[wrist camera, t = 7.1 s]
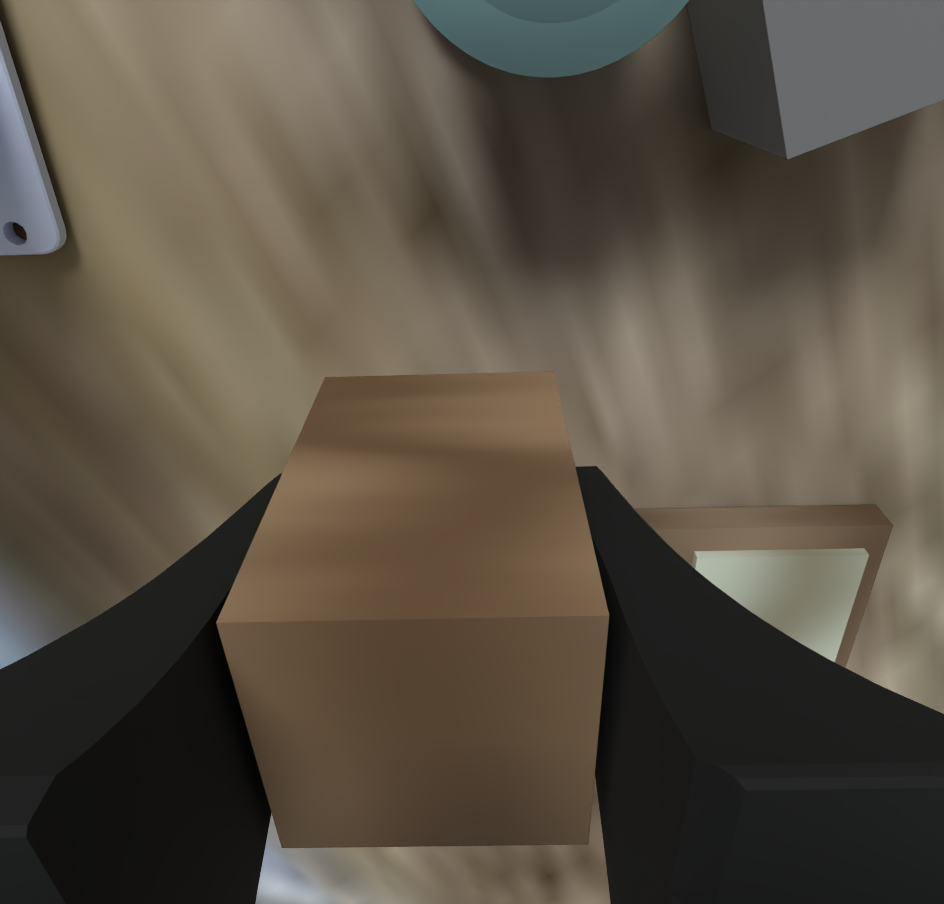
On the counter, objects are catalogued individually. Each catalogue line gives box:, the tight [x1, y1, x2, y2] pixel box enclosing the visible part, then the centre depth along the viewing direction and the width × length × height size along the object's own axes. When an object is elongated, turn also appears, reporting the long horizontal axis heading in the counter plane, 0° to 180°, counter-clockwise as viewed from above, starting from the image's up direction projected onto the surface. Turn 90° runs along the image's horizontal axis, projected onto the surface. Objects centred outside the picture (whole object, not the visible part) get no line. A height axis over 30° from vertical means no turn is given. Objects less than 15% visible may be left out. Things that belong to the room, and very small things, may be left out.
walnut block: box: [216, 371, 609, 848], centre depth 11 cm, size 4×4×6 cm
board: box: [634, 505, 893, 668], centre depth 22 cm, size 18×8×1 cm, turn 92°
